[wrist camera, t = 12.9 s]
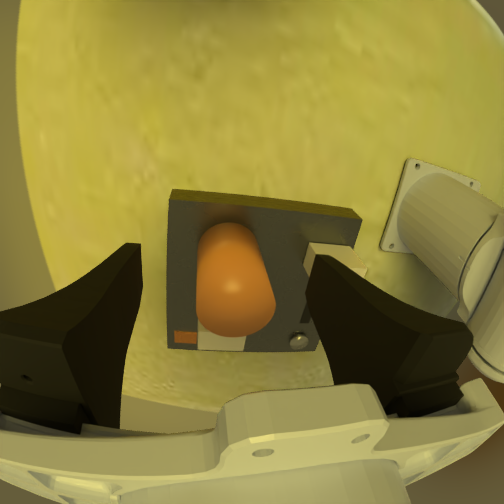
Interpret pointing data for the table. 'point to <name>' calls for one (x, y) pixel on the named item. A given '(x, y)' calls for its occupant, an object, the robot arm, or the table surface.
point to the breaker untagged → (336, 251)
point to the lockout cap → (232, 282)
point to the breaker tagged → (218, 341)
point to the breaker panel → (273, 254)
